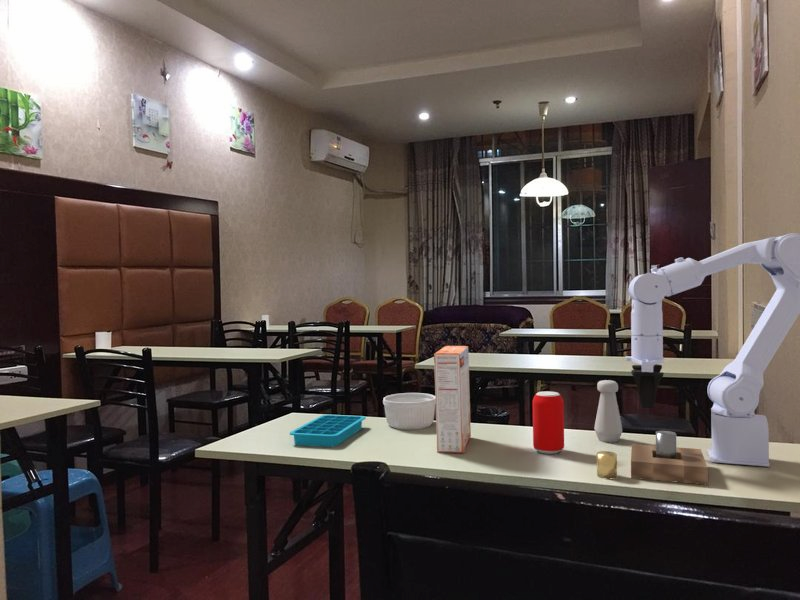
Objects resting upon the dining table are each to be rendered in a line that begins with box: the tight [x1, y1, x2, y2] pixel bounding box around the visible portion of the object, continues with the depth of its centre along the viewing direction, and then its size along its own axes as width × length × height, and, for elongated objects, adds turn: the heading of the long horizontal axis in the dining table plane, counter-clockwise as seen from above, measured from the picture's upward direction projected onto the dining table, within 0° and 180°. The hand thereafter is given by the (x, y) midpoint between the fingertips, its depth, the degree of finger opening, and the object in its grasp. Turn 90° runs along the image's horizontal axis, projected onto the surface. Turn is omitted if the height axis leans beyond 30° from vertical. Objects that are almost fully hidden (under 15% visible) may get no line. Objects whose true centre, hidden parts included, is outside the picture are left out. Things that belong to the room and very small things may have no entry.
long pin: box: [655, 430, 677, 459], centre depth 108 cm, size 3×3×7 cm
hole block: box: [630, 443, 709, 486], centre depth 108 cm, size 12×12×3 cm
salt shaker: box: [593, 379, 623, 443], centre depth 131 cm, size 6×6×13 cm
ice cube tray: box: [289, 414, 366, 448], centre depth 140 cm, size 12×20×3 cm, turn 164°
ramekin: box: [382, 392, 436, 431], centre depth 149 cm, size 13×13×7 cm
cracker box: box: [433, 345, 472, 454], centre depth 129 cm, size 14×6×21 cm, turn 167°
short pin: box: [596, 450, 618, 480], centre depth 106 cm, size 3×3×4 cm
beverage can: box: [532, 390, 565, 455], centre depth 123 cm, size 6×6×12 cm
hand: (647, 404), depth 117 cm, fingers open, 7 cm apart
